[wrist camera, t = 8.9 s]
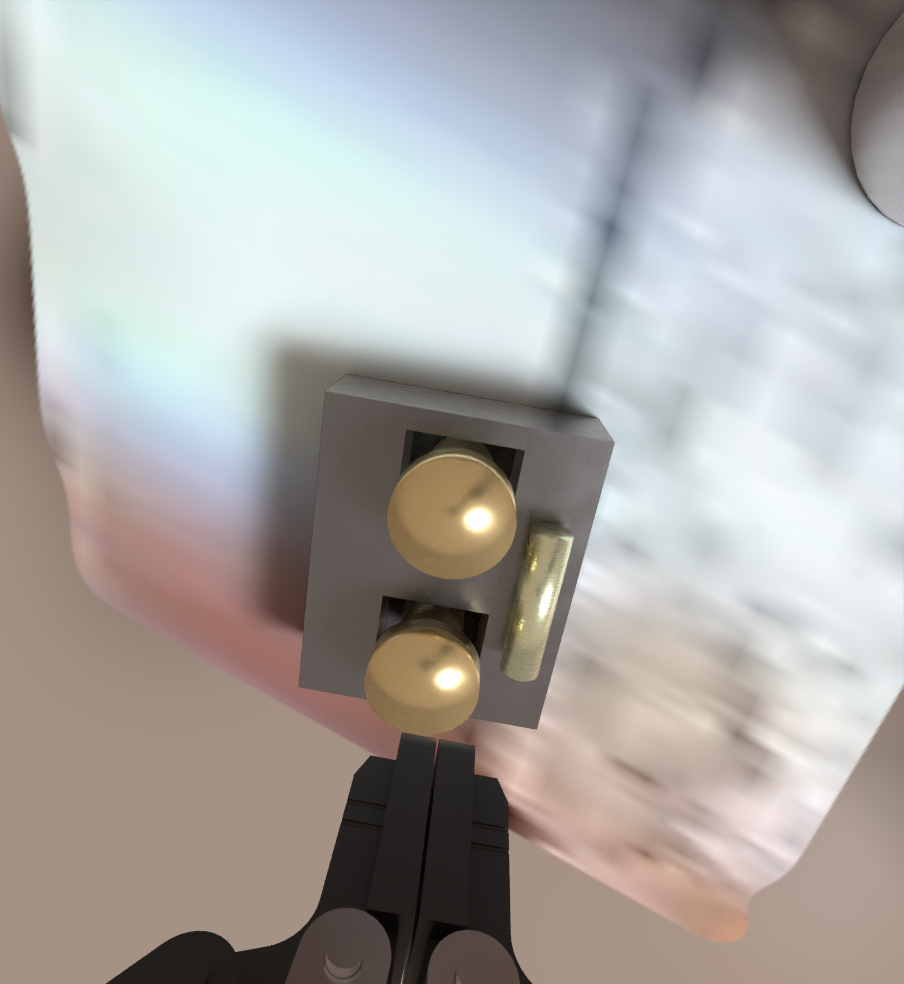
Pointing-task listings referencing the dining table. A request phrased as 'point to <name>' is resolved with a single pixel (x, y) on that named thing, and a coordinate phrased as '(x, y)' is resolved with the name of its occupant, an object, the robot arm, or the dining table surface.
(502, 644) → the level base plate
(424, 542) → the brass knob
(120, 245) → the dining table surface
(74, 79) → the dining table surface
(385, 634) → the brass knob
